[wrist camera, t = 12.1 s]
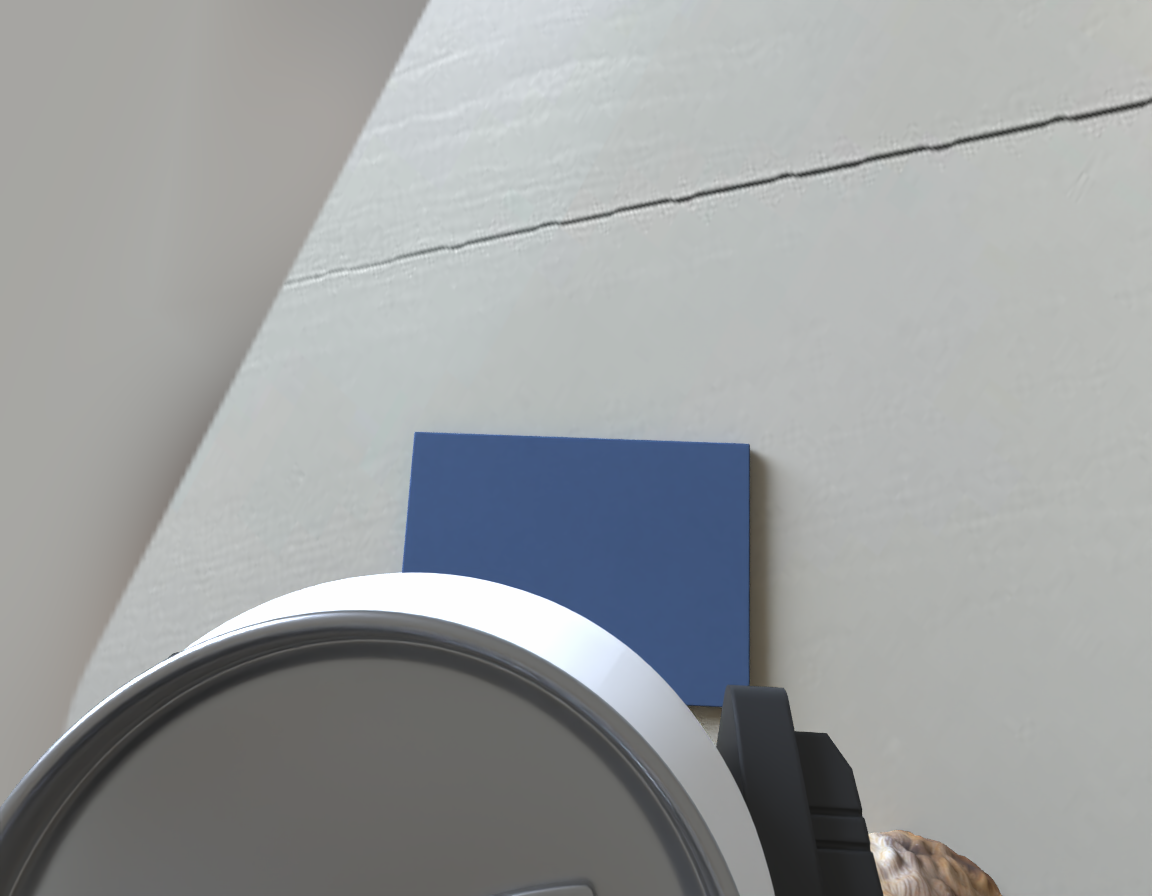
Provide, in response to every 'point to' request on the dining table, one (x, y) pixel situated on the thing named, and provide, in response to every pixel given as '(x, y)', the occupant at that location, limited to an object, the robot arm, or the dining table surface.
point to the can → (387, 762)
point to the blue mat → (601, 539)
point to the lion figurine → (925, 868)
